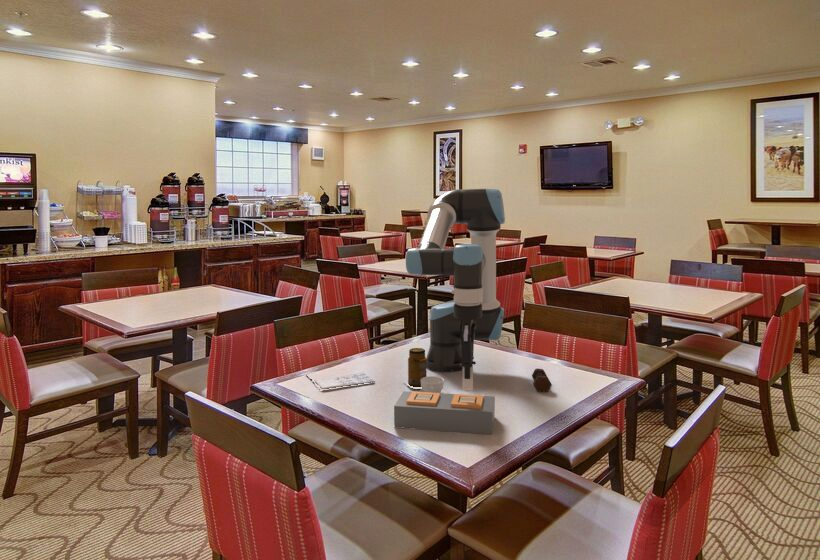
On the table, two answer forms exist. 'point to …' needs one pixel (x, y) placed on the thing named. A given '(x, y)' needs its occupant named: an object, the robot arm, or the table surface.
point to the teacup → (432, 385)
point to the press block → (445, 413)
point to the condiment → (416, 367)
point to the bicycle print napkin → (353, 380)
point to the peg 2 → (468, 399)
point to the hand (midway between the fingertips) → (467, 388)
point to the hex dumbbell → (541, 381)
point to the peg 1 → (423, 397)
